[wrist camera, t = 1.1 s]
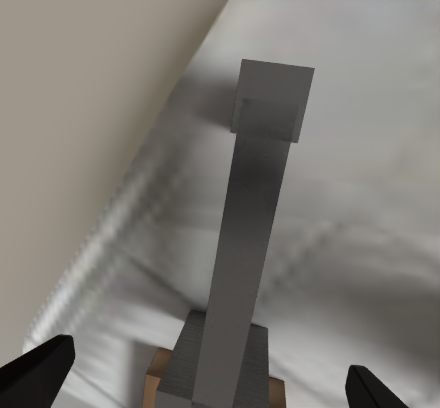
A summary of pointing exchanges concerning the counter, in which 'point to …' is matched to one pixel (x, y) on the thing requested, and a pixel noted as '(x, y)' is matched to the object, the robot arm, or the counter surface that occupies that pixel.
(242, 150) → the gray arch stand
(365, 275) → the counter surface
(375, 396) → the robot arm
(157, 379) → the wooden frame
